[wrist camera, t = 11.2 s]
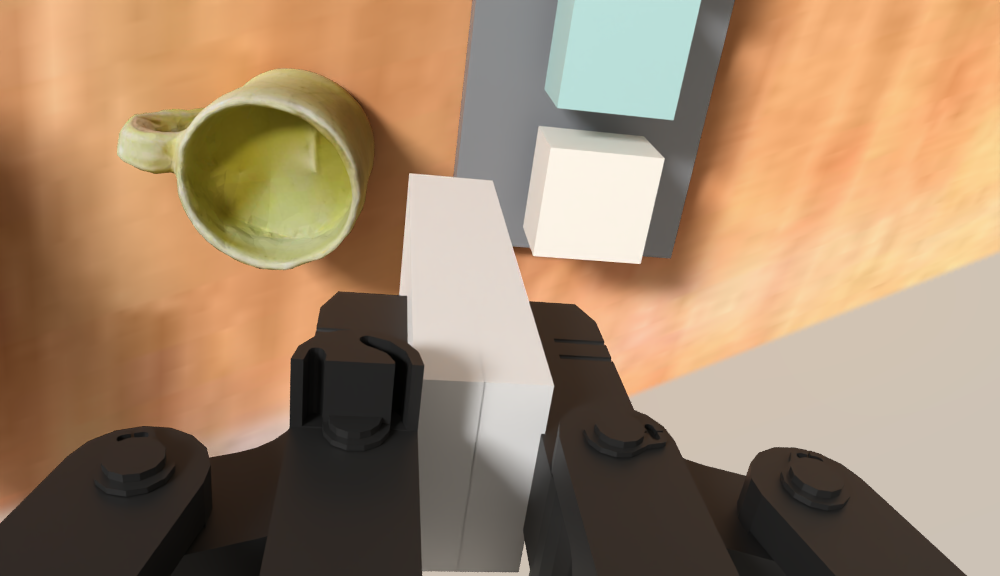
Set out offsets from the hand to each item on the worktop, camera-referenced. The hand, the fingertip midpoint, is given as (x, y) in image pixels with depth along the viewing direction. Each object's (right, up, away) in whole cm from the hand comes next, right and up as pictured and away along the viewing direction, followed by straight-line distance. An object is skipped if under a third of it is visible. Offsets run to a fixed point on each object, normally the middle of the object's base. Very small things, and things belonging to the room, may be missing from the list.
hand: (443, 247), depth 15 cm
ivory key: (+6, +5, +30) cm, 31 cm away
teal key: (+7, +12, +27) cm, 30 cm away
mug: (-12, +8, +31) cm, 35 cm away
